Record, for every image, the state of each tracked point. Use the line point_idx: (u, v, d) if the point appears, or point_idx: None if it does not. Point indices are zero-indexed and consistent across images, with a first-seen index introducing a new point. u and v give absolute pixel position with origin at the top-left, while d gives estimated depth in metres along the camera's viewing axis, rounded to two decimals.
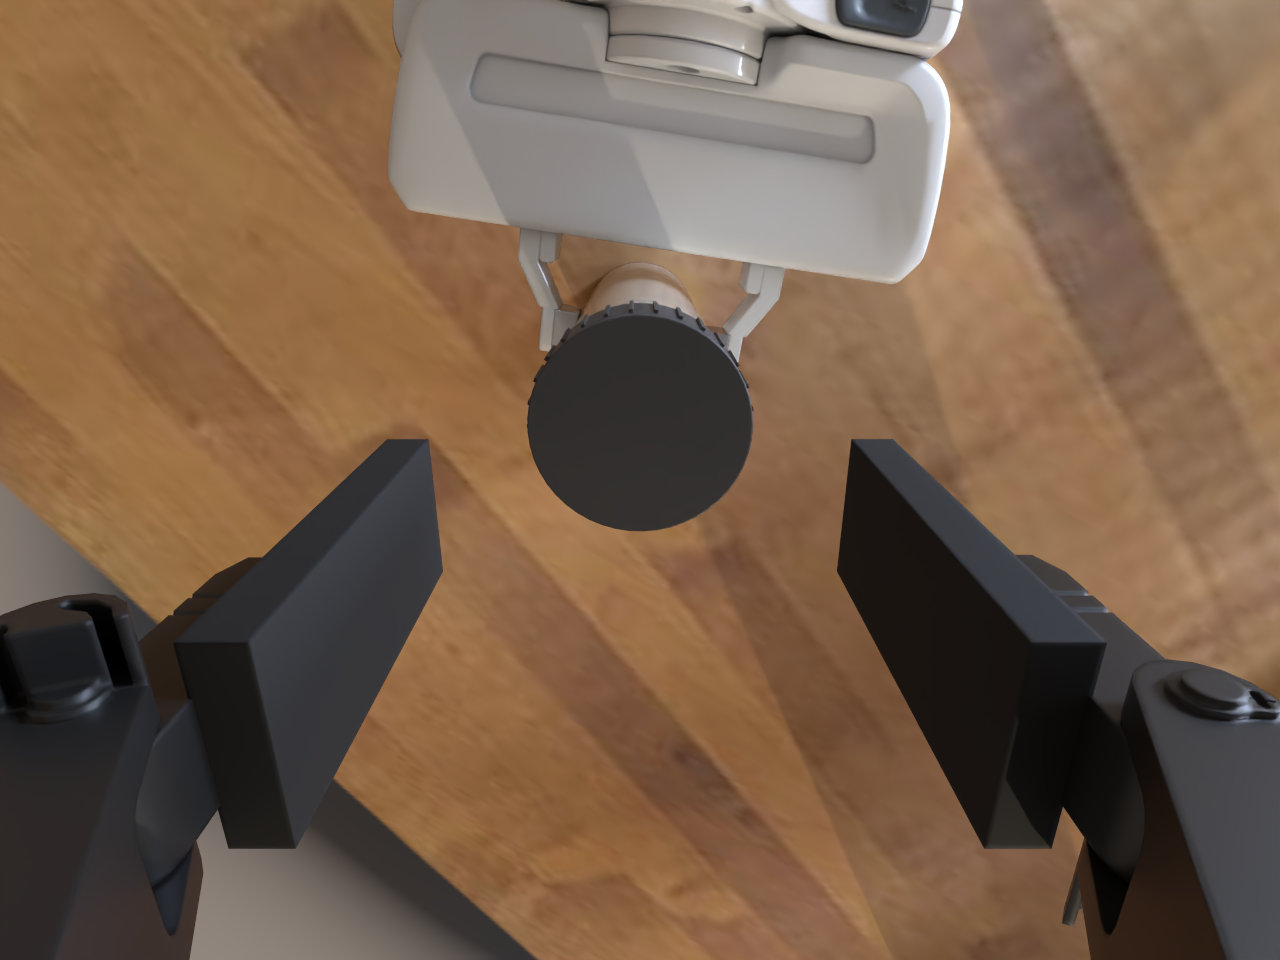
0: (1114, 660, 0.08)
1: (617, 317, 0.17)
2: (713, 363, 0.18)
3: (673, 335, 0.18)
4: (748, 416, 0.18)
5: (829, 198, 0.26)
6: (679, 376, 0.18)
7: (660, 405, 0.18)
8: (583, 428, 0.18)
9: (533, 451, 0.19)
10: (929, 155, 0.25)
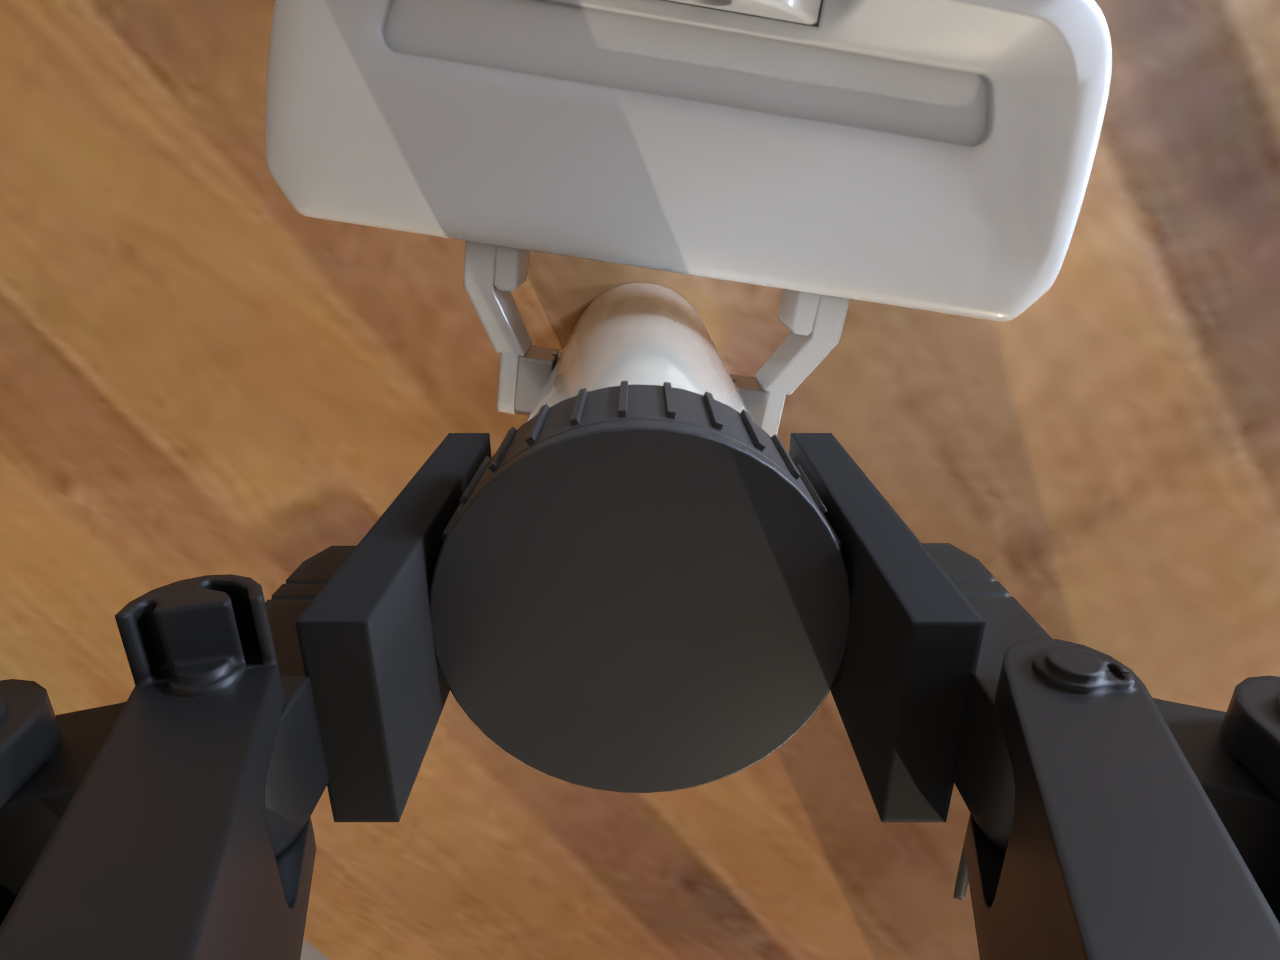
0: (1004, 641, 0.08)
1: (595, 431, 0.09)
2: (781, 515, 0.09)
3: (705, 465, 0.09)
4: (843, 607, 0.10)
5: (920, 197, 0.18)
6: (715, 538, 0.09)
7: (678, 588, 0.10)
8: (534, 627, 0.10)
9: (442, 666, 0.10)
10: (1077, 133, 0.17)
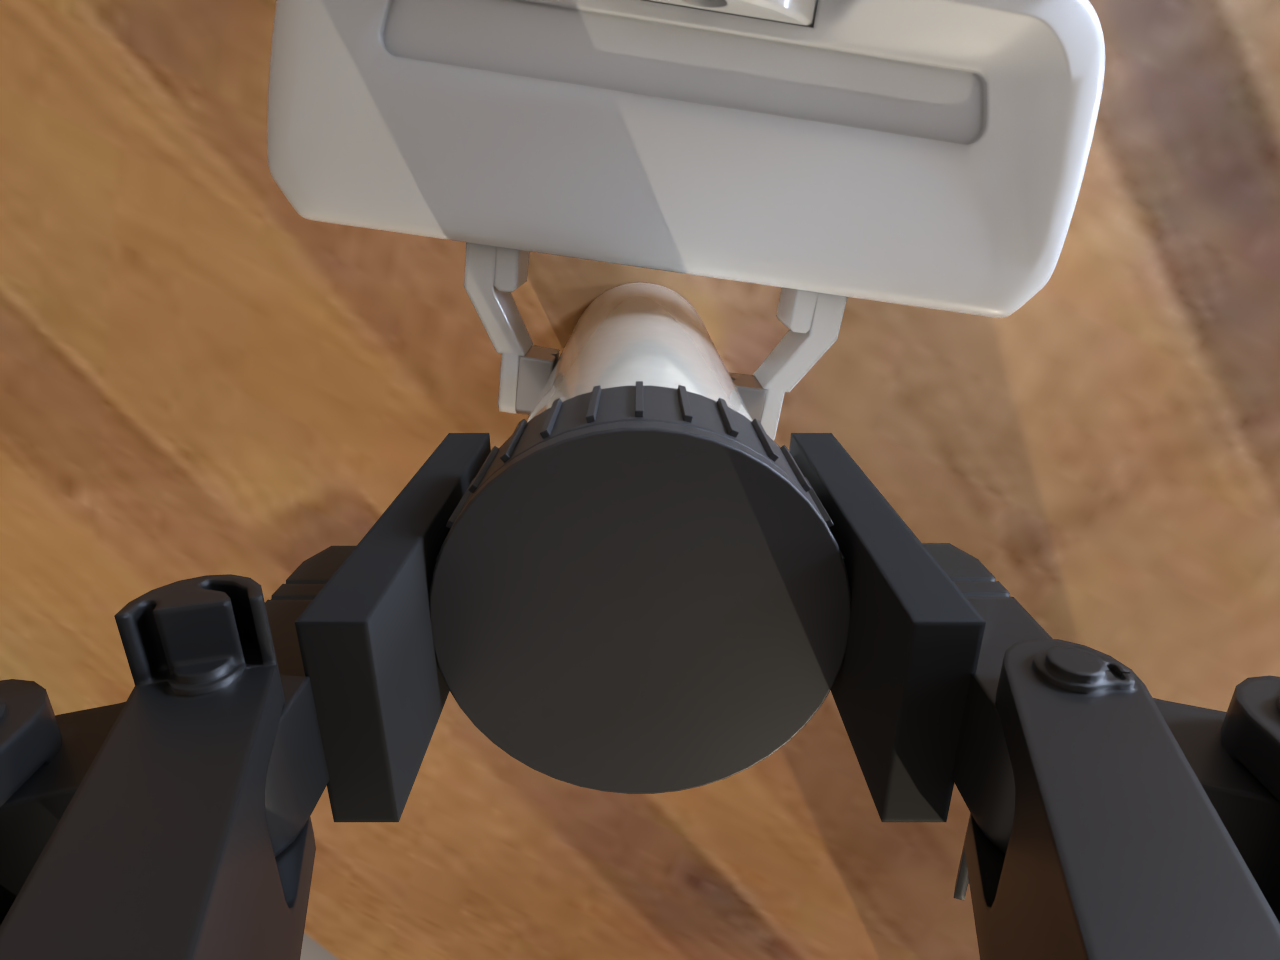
0: (1004, 641, 0.08)
1: (464, 710, 0.10)
2: (473, 551, 0.09)
3: (454, 626, 0.10)
4: (548, 454, 0.09)
5: (916, 195, 0.18)
6: (520, 597, 0.10)
7: (584, 611, 0.10)
8: (667, 713, 0.10)
9: (733, 772, 0.11)
10: (1071, 130, 0.17)
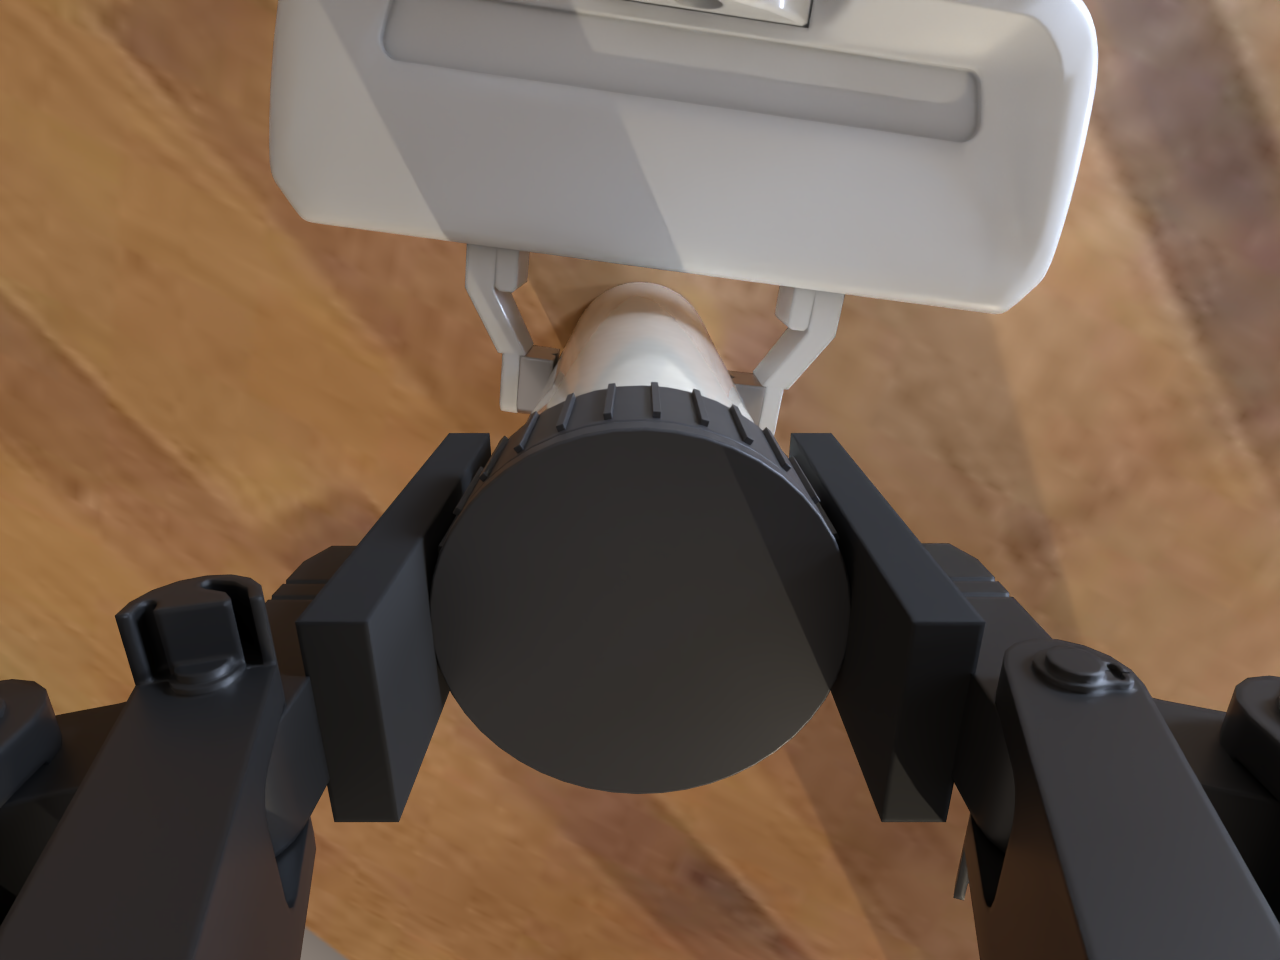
0: (1004, 641, 0.08)
1: (780, 745, 0.11)
2: (605, 772, 0.11)
3: (686, 770, 0.11)
4: (498, 737, 0.11)
5: (911, 193, 0.18)
6: (638, 730, 0.10)
7: (635, 679, 0.10)
8: (730, 579, 0.10)
9: (792, 490, 0.09)
10: (1064, 127, 0.17)
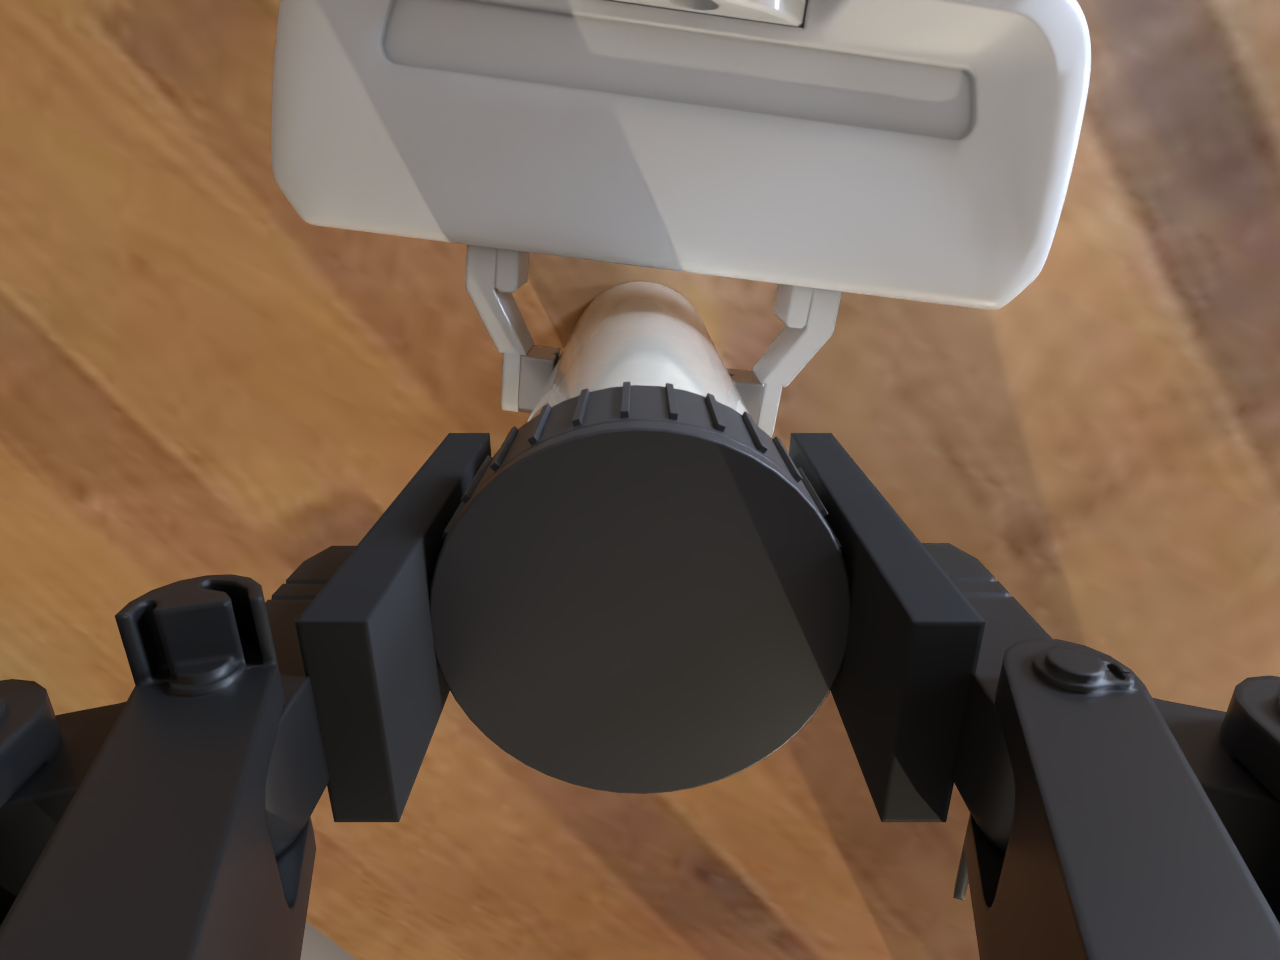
0: (1004, 640, 0.08)
1: (744, 451, 0.09)
2: (823, 616, 0.10)
3: (802, 538, 0.09)
4: (805, 714, 0.10)
5: (908, 190, 0.18)
6: (760, 599, 0.10)
7: (698, 618, 0.10)
8: (555, 570, 0.10)
9: (445, 550, 0.09)
10: (1058, 124, 0.17)
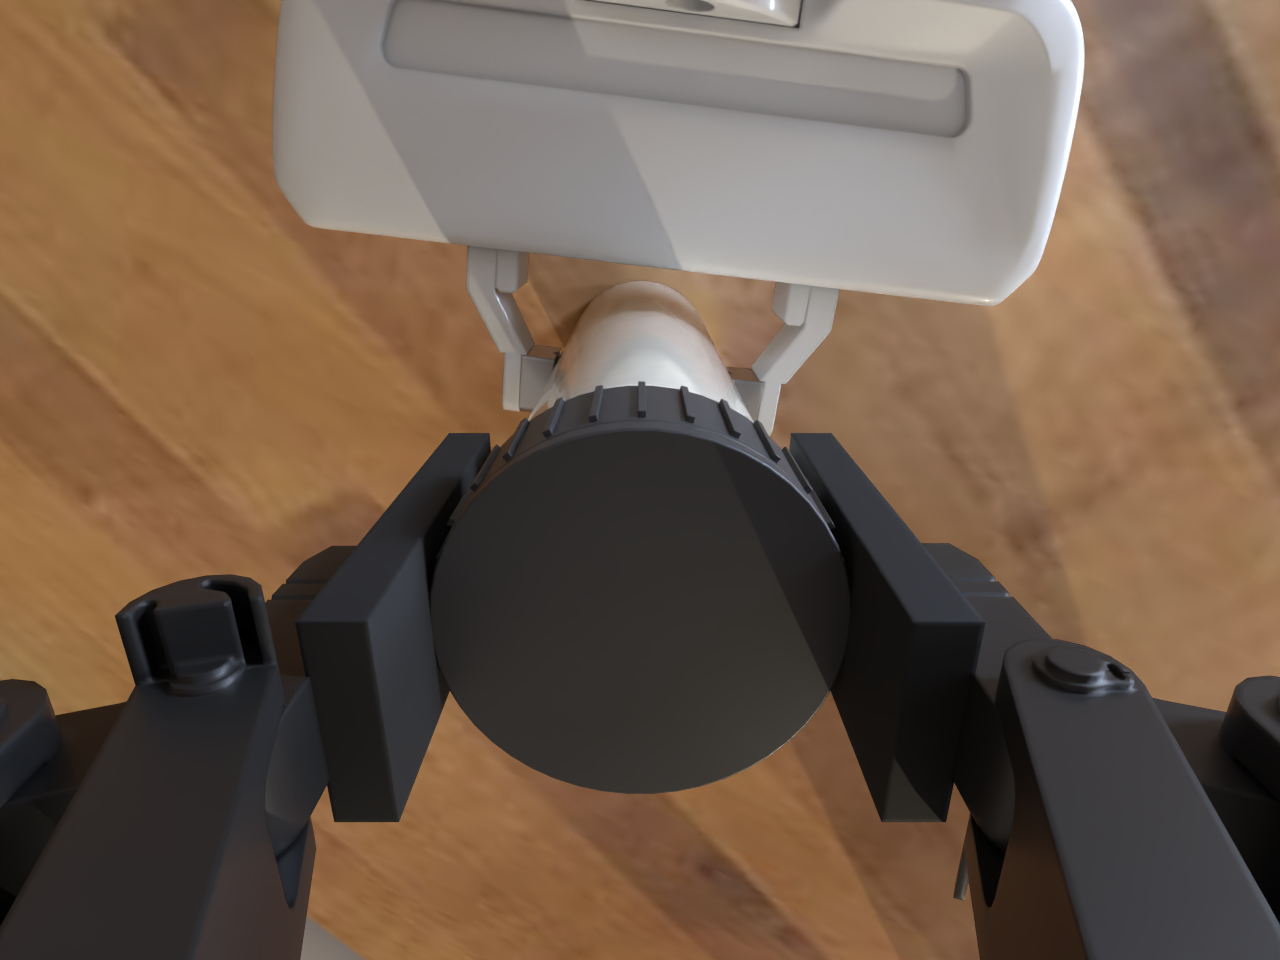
0: (1004, 640, 0.08)
1: (430, 598, 0.10)
2: (563, 474, 0.09)
3: (488, 523, 0.09)
4: (692, 441, 0.09)
5: (903, 188, 0.18)
6: (567, 538, 0.09)
7: (609, 585, 0.10)
8: (602, 710, 0.10)
9: (613, 790, 0.11)
10: (1053, 121, 0.17)
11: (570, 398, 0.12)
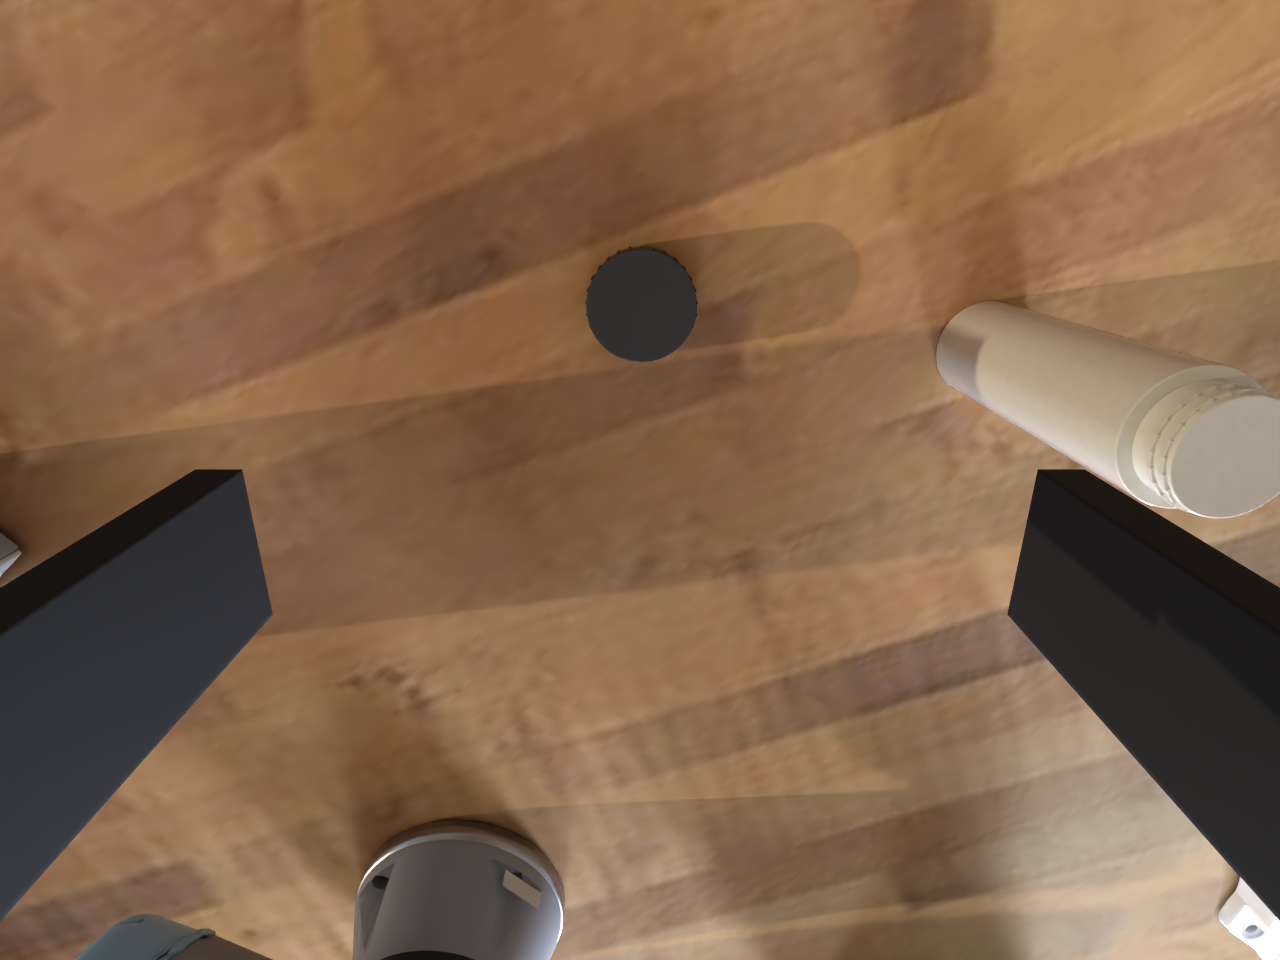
0: None
1: (587, 298, 0.37)
2: (622, 261, 0.37)
3: (603, 275, 0.37)
4: (654, 253, 0.37)
5: None
6: (623, 279, 0.37)
7: (633, 293, 0.37)
8: (631, 333, 0.38)
9: (634, 360, 0.39)
10: None
11: None
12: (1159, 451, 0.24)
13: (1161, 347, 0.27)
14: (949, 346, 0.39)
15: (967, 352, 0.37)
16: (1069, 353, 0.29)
